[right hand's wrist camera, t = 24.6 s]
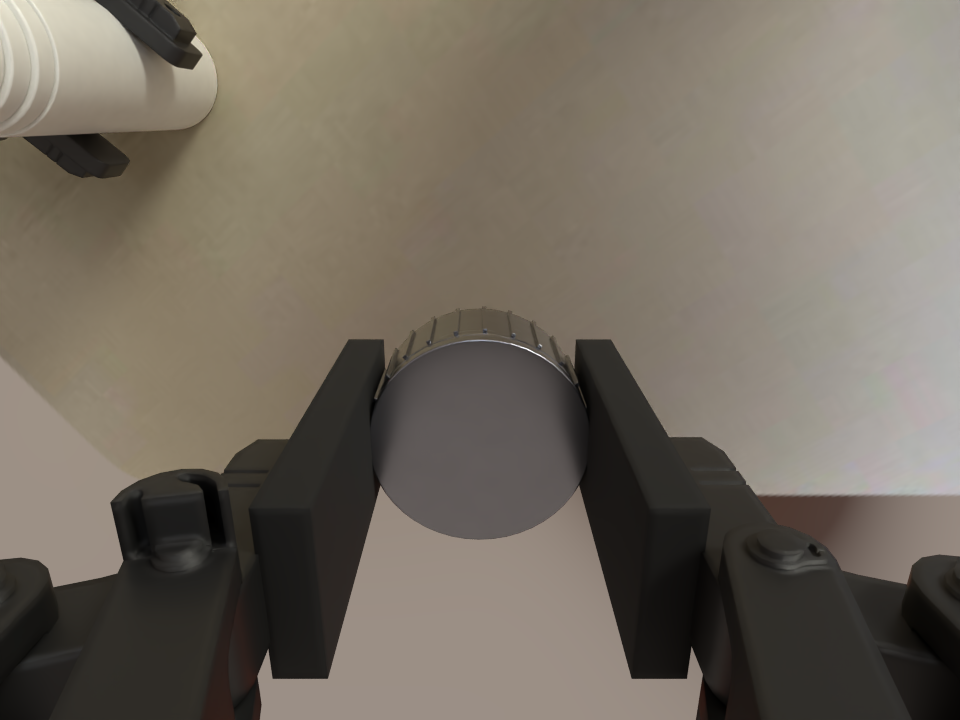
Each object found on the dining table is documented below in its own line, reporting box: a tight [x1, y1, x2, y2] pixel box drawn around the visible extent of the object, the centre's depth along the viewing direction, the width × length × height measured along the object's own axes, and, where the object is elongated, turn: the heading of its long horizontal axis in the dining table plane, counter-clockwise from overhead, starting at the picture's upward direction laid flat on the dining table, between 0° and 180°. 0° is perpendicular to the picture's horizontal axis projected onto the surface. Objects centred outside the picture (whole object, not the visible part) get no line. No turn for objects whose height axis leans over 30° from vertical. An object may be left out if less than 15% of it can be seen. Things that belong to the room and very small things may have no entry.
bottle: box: [0, 0, 217, 137], centre depth 22 cm, size 5×5×19 cm
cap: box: [370, 307, 590, 539], centre depth 13 cm, size 4×4×2 cm
